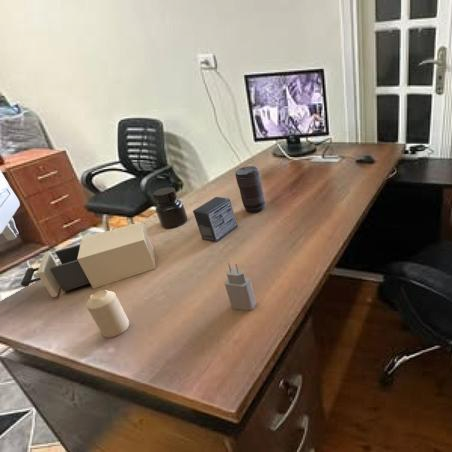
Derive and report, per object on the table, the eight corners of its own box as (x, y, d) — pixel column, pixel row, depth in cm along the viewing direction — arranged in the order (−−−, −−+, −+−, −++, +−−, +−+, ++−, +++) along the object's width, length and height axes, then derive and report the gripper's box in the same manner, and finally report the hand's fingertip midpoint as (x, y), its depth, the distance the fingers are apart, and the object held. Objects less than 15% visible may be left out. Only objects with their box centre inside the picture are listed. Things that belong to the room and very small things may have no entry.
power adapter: (251, 311, 80) (239, 268, 74) (230, 308, 81) (217, 266, 75) (257, 302, 82) (246, 260, 76) (237, 299, 84) (225, 258, 78)
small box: (223, 223, 119) (215, 195, 114) (238, 226, 116) (231, 198, 111) (200, 239, 111) (191, 210, 106) (216, 242, 108) (207, 212, 103)
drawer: (29, 305, 88) (12, 280, 84) (38, 281, 96) (23, 258, 93) (115, 277, 95) (103, 253, 91) (115, 258, 104) (104, 235, 100)
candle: (122, 337, 76) (103, 302, 71) (97, 338, 76) (77, 304, 71) (134, 318, 81) (117, 284, 76) (111, 320, 81) (92, 287, 76)
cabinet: (93, 288, 93) (77, 259, 88) (96, 265, 103) (81, 238, 98) (156, 268, 99) (144, 239, 94) (152, 248, 109) (141, 221, 104)
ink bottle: (187, 213, 128) (177, 183, 123) (190, 223, 121) (180, 191, 116) (159, 221, 125) (148, 190, 119) (160, 231, 118) (148, 199, 112)
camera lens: (239, 210, 127) (229, 171, 120) (256, 202, 132) (248, 164, 125) (253, 216, 122) (244, 175, 115) (270, 207, 127) (263, 168, 120)
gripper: (-23, 175, 85) (8, 224, 92) (-56, 203, 69) (-15, 261, 76) (9, 169, 88) (37, 217, 94) (-16, 195, 72) (20, 251, 78)
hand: (13, 237), depth 85 cm, fingers closed
